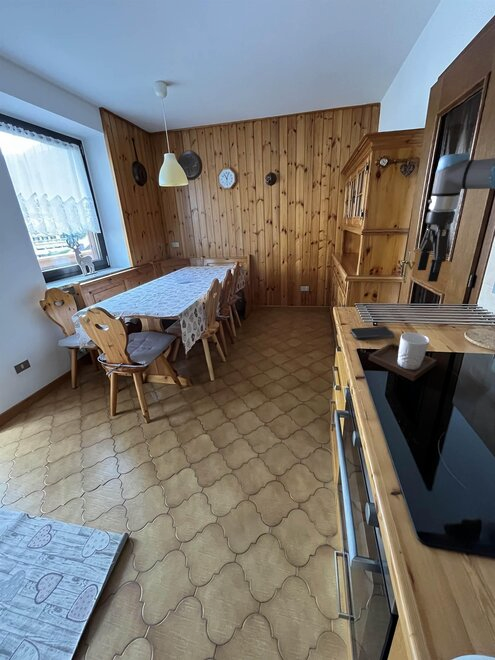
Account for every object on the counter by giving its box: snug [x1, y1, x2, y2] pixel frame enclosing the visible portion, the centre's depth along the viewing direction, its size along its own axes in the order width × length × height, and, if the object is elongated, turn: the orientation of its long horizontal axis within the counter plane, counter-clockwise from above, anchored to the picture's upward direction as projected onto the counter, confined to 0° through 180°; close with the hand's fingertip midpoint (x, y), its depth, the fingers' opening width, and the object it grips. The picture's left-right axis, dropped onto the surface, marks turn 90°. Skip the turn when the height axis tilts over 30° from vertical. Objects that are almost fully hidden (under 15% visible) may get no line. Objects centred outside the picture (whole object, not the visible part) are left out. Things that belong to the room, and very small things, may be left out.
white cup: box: [397, 331, 430, 370], centre depth 92 cm, size 8×8×10 cm
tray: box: [368, 342, 437, 382], centre depth 96 cm, size 16×14×2 cm
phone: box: [350, 325, 395, 341], centre depth 114 cm, size 8×1×15 cm
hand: (426, 275), depth 100 cm, fingers open, 13 cm apart
